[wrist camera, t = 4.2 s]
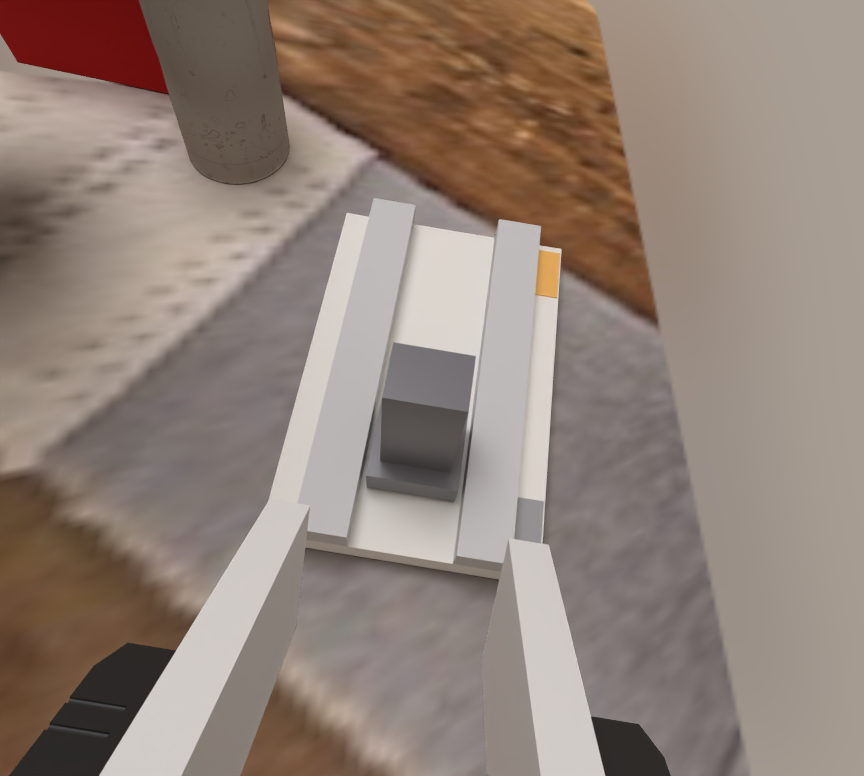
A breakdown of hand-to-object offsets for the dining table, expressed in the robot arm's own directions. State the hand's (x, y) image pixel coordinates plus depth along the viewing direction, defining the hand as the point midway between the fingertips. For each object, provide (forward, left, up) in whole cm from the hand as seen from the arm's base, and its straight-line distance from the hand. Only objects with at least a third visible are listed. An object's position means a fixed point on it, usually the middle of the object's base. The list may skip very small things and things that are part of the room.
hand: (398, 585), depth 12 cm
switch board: (+12, +14, -26) cm, 32 cm away
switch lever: (+8, +9, -24) cm, 27 cm away
